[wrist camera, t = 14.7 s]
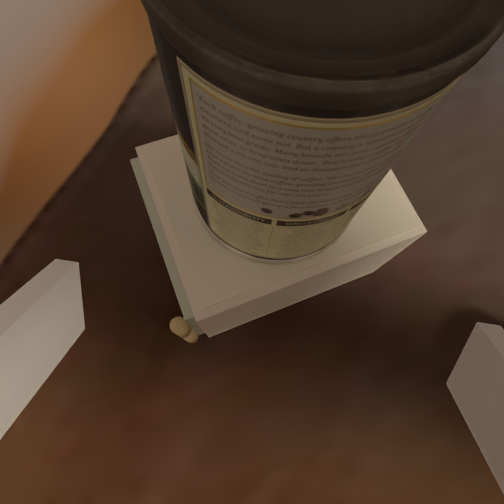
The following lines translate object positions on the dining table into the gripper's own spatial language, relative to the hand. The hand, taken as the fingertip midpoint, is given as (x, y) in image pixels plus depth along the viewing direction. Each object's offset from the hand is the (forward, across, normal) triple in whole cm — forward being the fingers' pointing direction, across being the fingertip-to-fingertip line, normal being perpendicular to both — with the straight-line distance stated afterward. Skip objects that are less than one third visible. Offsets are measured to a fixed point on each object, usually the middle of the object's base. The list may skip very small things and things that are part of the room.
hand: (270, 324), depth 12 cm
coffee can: (+12, 0, +1) cm, 12 cm away
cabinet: (+19, 0, -6) cm, 20 cm away
